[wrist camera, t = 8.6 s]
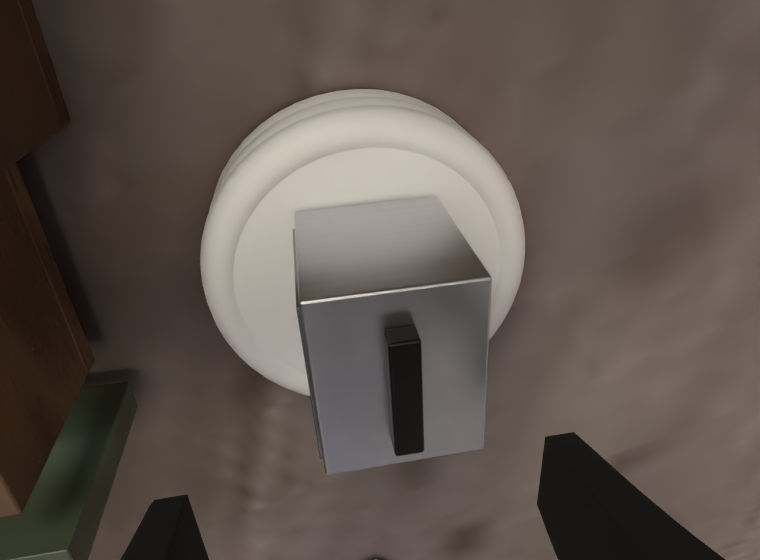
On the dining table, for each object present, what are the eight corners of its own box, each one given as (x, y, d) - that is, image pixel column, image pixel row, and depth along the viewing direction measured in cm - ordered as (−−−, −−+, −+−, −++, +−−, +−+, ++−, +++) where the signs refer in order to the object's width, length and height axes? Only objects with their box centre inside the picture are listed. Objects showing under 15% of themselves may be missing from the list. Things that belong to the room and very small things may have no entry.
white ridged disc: (170, 113, 17) (147, 145, 14) (490, 61, 18) (534, 81, 15) (250, 370, 22) (245, 435, 19) (496, 322, 23) (530, 377, 20)
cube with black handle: (440, 339, 18) (496, 468, 13) (312, 357, 18) (324, 497, 13) (439, 194, 16) (507, 291, 11) (290, 211, 15) (294, 319, 11)
